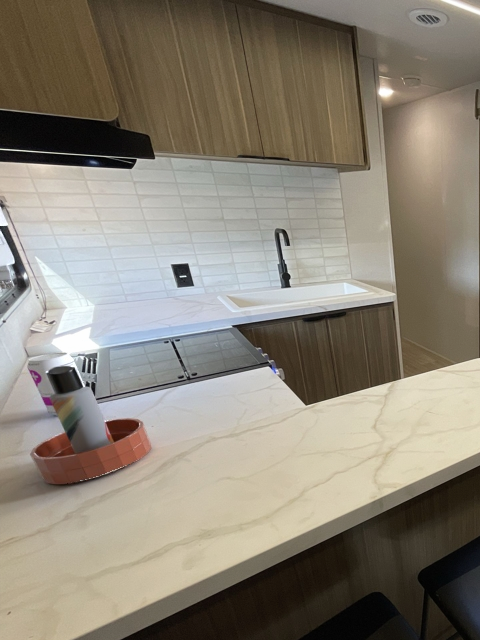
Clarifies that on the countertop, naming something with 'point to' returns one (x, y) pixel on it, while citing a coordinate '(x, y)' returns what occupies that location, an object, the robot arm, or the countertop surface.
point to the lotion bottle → (78, 410)
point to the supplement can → (38, 373)
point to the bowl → (91, 453)
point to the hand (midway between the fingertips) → (2, 291)
